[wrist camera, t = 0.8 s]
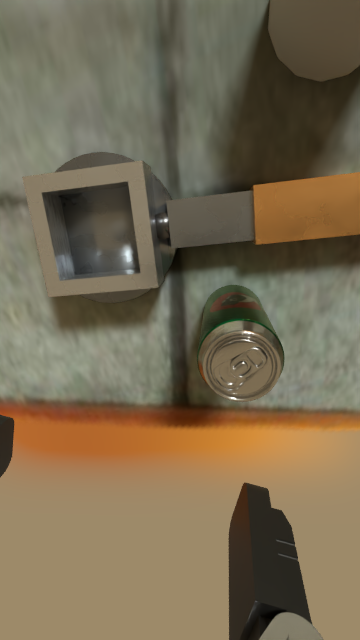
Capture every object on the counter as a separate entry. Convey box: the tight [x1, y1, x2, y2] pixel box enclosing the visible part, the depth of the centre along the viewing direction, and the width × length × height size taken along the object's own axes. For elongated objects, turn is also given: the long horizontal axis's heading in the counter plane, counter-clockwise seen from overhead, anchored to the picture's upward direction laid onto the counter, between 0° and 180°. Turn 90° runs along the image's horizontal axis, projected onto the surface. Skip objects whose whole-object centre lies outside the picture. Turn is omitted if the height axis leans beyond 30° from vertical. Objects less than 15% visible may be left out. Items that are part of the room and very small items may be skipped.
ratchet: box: [22, 152, 360, 303], centre depth 26 cm, size 28×12×4 cm, turn 96°
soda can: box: [197, 285, 284, 402], centre depth 24 cm, size 5×5×12 cm
